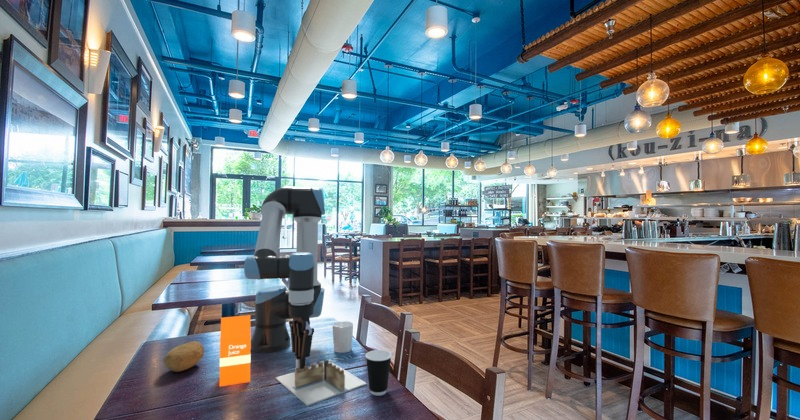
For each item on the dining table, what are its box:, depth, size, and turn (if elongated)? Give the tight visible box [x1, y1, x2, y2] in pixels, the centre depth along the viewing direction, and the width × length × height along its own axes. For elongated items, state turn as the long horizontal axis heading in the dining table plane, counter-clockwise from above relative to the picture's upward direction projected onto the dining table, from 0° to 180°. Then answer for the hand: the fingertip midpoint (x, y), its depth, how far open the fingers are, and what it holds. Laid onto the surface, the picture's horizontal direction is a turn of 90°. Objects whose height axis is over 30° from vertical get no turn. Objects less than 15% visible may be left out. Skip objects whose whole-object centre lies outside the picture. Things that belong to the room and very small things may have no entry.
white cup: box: [332, 320, 354, 354], centre depth 143 cm, size 8×8×10 cm
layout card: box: [275, 361, 367, 407], centre depth 116 cm, size 22×20×1 cm
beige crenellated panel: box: [294, 361, 324, 387], centre depth 114 cm, size 9×1×5 cm, turn 129°
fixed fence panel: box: [323, 359, 345, 390], centre depth 114 cm, size 11×1×6 cm, turn 41°
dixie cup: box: [364, 349, 393, 396], centre depth 110 cm, size 8×8×11 cm
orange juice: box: [219, 314, 252, 388], centre depth 117 cm, size 8×9×20 cm
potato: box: [163, 340, 205, 373], centre depth 124 cm, size 10×14×8 cm
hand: (300, 377), depth 115 cm, fingers closed
